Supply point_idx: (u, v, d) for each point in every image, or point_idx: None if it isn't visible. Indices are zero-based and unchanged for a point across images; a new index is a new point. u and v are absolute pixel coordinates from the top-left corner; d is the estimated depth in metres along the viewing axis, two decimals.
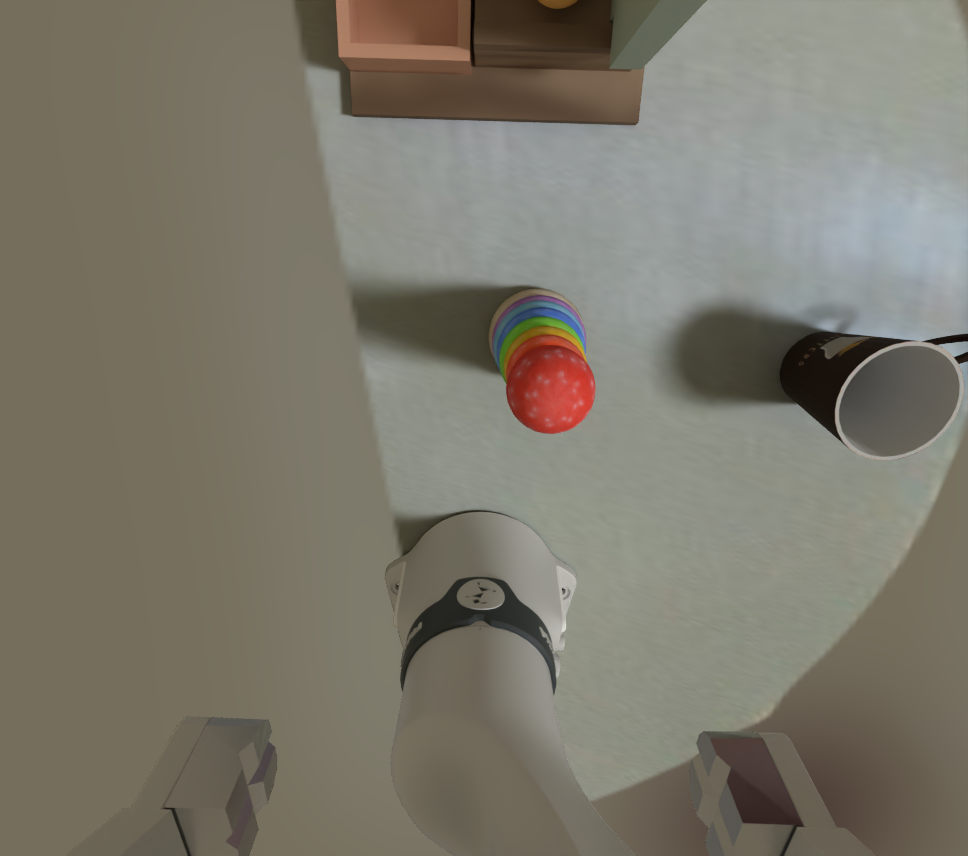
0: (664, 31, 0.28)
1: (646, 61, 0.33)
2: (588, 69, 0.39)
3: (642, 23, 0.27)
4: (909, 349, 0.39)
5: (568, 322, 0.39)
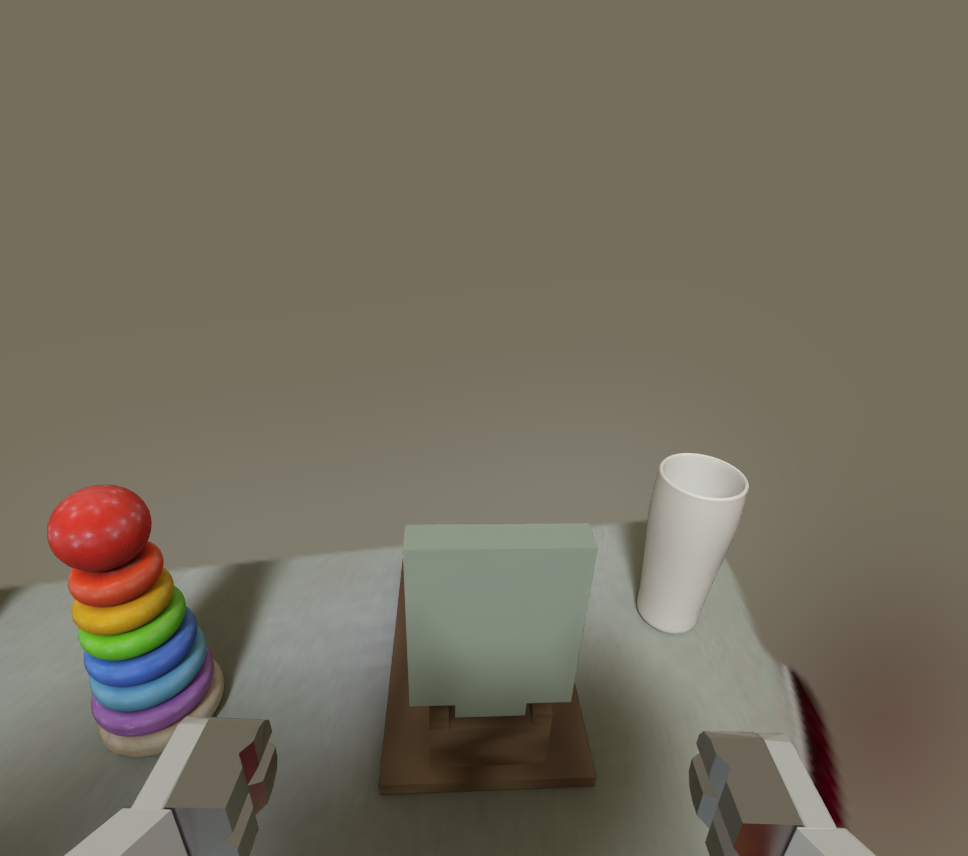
0: None
1: None
2: None
3: None
4: None
5: (165, 653, 0.35)
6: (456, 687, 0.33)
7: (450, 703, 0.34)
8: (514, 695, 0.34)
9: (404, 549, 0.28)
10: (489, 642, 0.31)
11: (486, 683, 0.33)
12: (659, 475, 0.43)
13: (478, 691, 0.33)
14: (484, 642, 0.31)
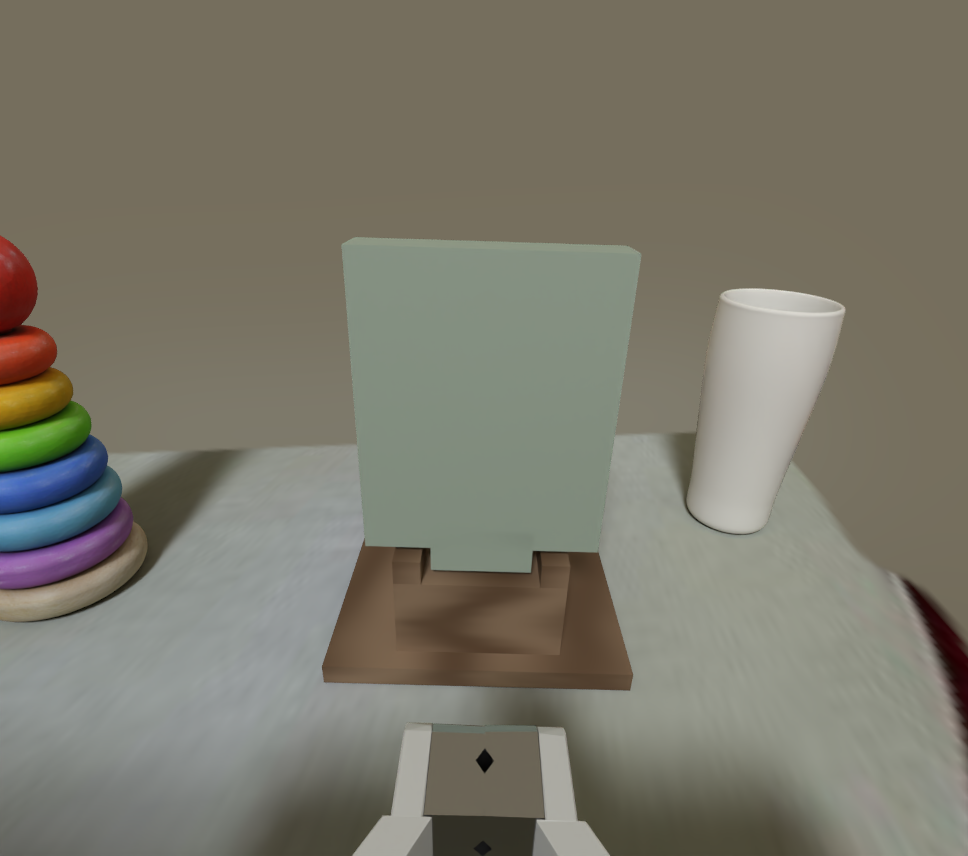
0: None
1: (363, 512, 0.23)
2: None
3: None
4: None
5: (49, 473, 0.26)
6: (431, 515, 0.23)
7: (423, 544, 0.24)
8: (514, 536, 0.23)
9: (344, 245, 0.18)
10: (476, 434, 0.21)
11: (474, 510, 0.23)
12: (720, 302, 0.32)
13: (462, 525, 0.23)
14: (470, 433, 0.21)
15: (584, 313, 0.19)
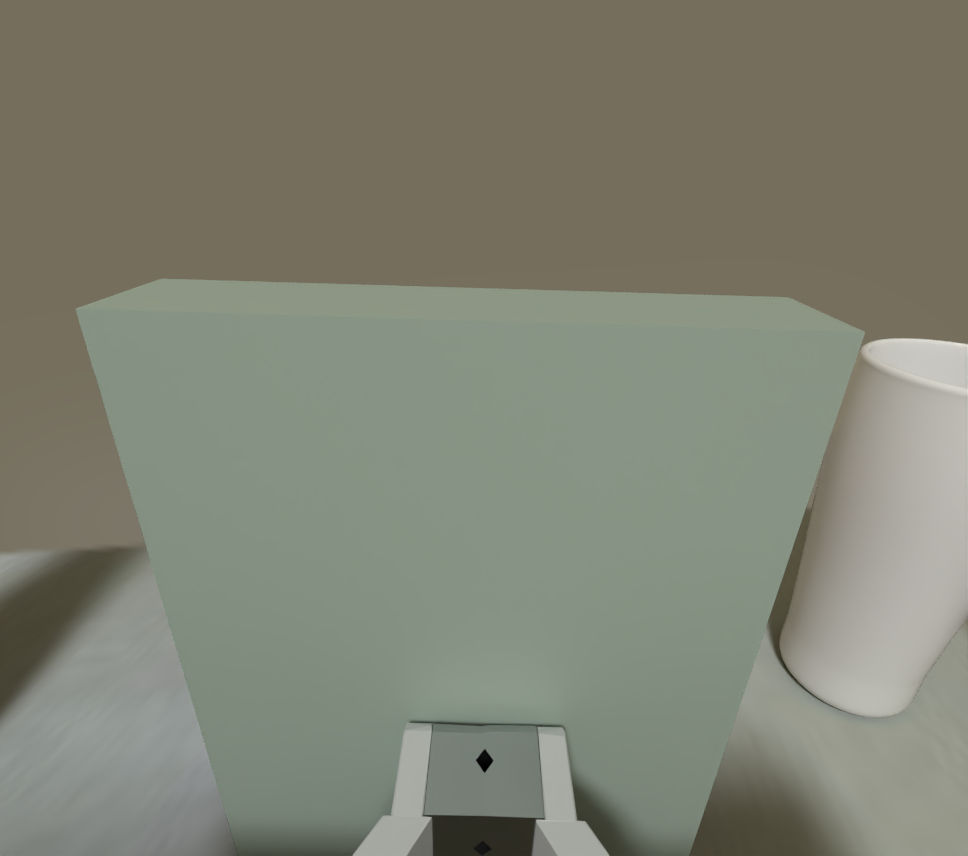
0: None
1: (227, 809, 0.12)
2: None
3: None
4: None
5: None
6: (360, 817, 0.12)
7: None
8: None
9: (85, 310, 0.07)
10: (445, 695, 0.10)
11: None
12: (867, 368, 0.20)
13: None
14: (431, 693, 0.10)
15: (700, 469, 0.08)
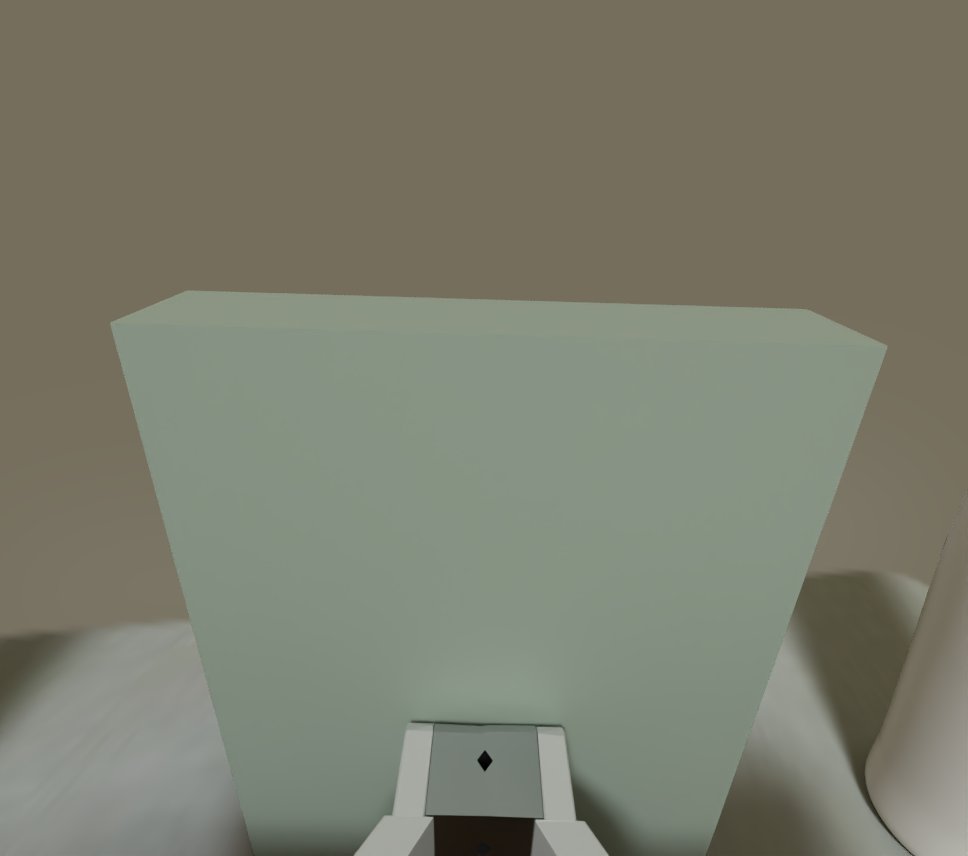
0: None
1: (245, 815, 0.12)
2: None
3: None
4: None
5: None
6: None
7: None
8: None
9: (119, 323, 0.07)
10: (465, 702, 0.10)
11: None
12: None
13: None
14: (452, 700, 0.10)
15: (722, 480, 0.08)
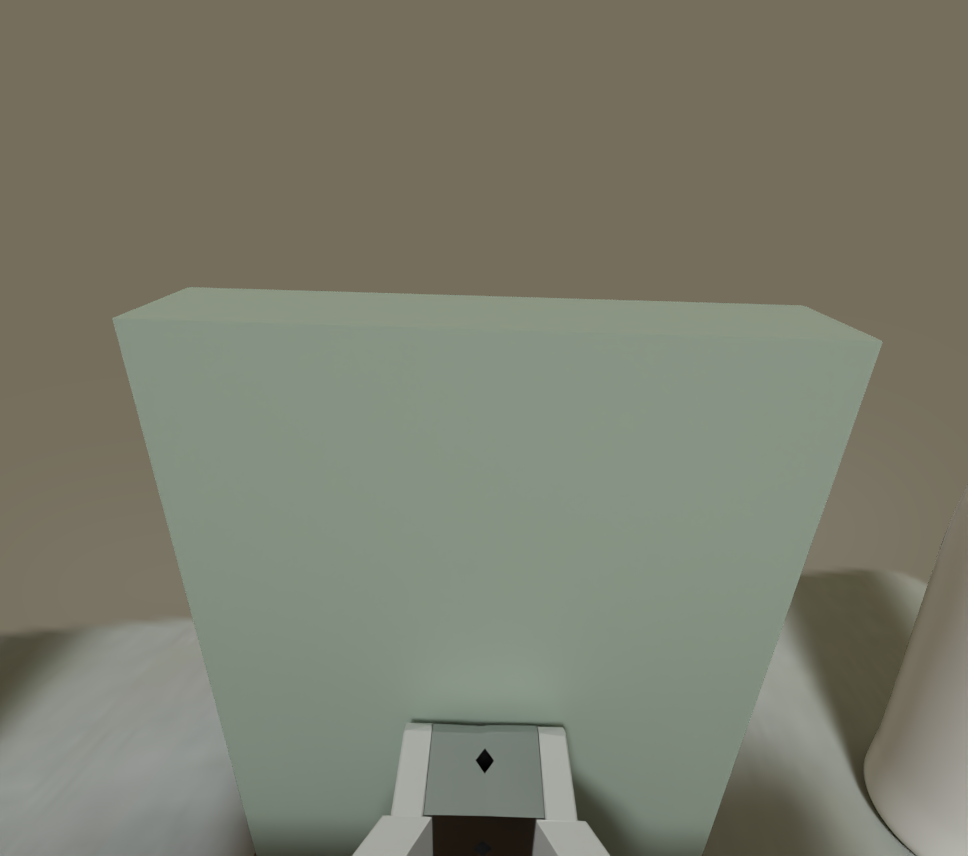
0: None
1: (247, 809, 0.12)
2: None
3: None
4: None
5: None
6: (378, 817, 0.12)
7: None
8: None
9: (121, 319, 0.07)
10: (464, 696, 0.10)
11: None
12: None
13: None
14: (451, 694, 0.10)
15: (719, 474, 0.08)
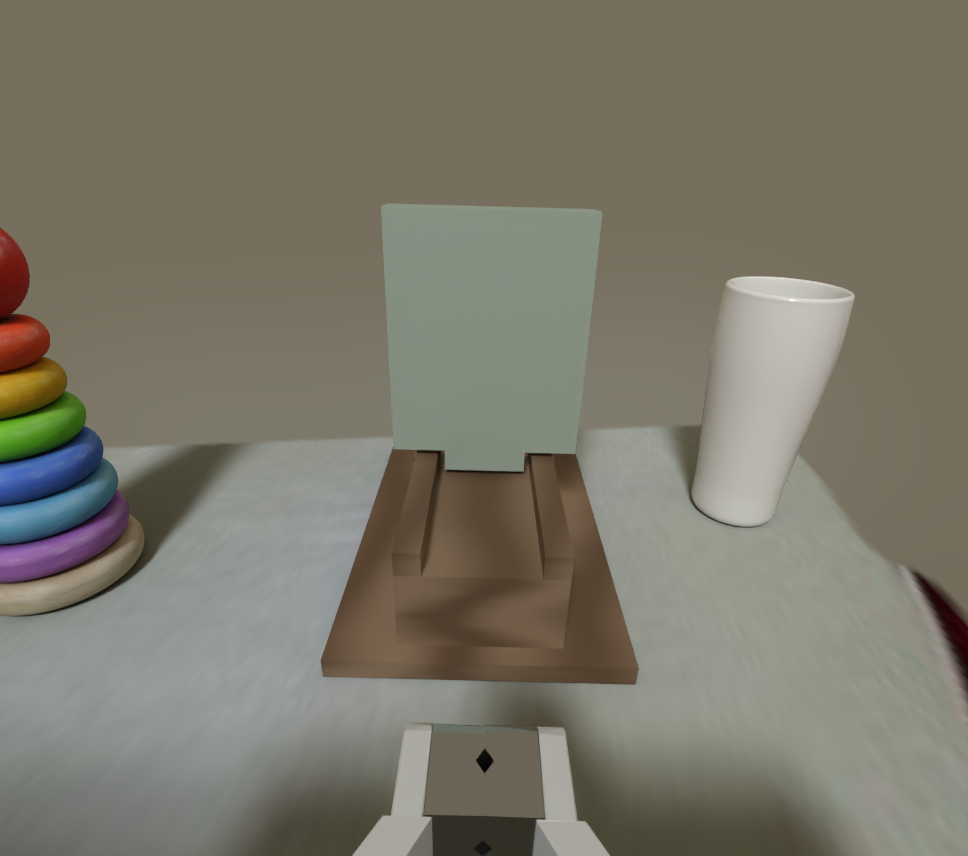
0: None
1: (392, 421, 0.30)
2: None
3: None
4: None
5: (42, 464, 0.26)
6: (445, 423, 0.30)
7: (439, 447, 0.30)
8: (510, 440, 0.30)
9: (383, 207, 0.25)
10: (480, 355, 0.28)
11: (478, 419, 0.29)
12: (726, 290, 0.32)
13: (469, 431, 0.30)
14: (475, 354, 0.28)
15: (561, 258, 0.26)
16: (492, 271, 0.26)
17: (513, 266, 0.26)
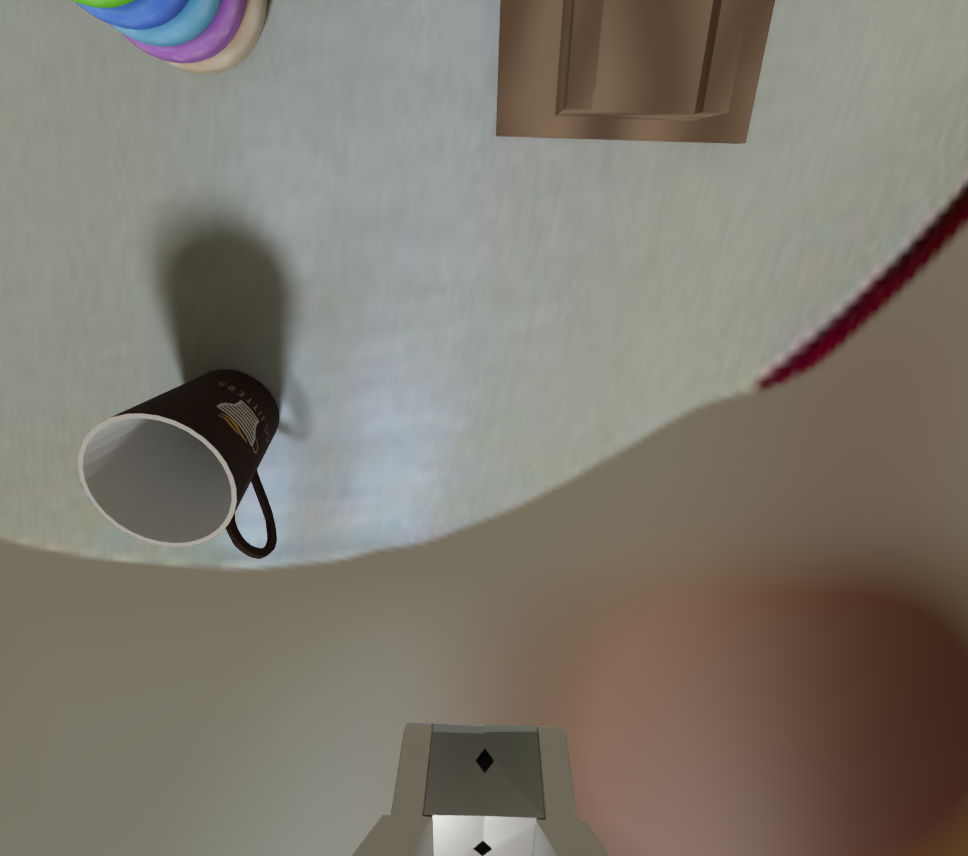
0: None
1: None
2: (559, 51, 0.29)
3: None
4: None
5: None
6: None
7: None
8: None
9: None
10: None
11: None
12: None
13: None
14: None
15: None
16: None
17: None
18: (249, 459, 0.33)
